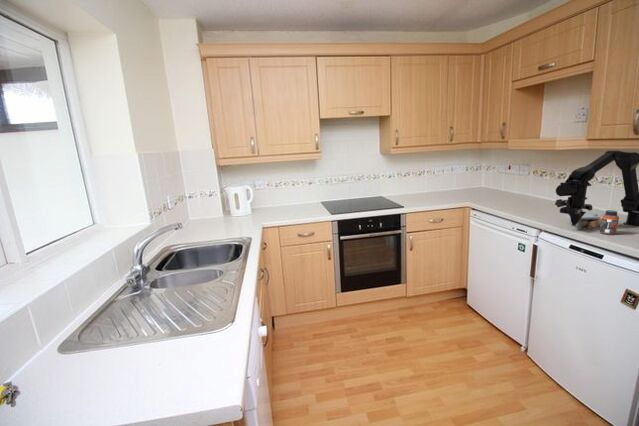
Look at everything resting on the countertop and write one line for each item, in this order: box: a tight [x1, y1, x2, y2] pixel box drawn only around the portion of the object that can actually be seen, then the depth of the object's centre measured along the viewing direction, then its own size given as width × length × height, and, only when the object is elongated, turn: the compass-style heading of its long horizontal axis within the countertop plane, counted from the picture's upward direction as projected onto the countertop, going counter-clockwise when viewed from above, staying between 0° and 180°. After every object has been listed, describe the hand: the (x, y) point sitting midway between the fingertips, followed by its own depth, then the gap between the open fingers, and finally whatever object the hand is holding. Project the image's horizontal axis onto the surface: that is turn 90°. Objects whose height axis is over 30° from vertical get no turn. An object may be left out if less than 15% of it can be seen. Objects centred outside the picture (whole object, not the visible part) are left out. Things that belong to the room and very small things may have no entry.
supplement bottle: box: [599, 209, 620, 236], centre depth 144 cm, size 6×6×11 cm
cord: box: [575, 221, 589, 229], centre depth 157 cm, size 7×3×3 cm, turn 117°
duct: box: [578, 218, 602, 229], centre depth 160 cm, size 13×7×3 cm, turn 117°
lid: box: [565, 213, 601, 220], centre depth 162 cm, size 14×6×4 cm, turn 87°
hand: (573, 225), depth 153 cm, fingers closed
